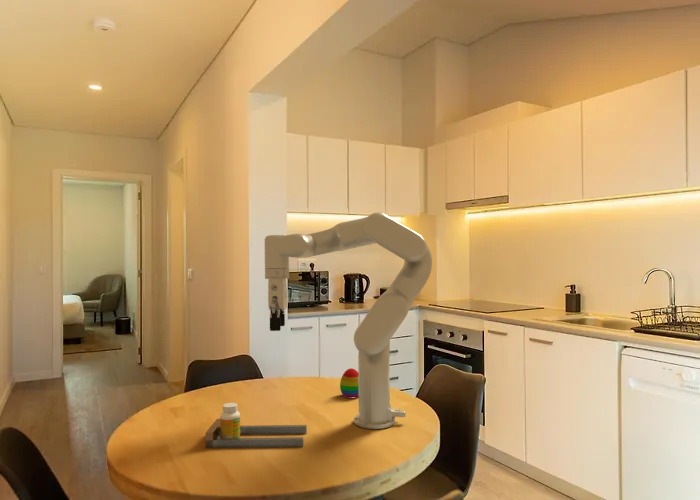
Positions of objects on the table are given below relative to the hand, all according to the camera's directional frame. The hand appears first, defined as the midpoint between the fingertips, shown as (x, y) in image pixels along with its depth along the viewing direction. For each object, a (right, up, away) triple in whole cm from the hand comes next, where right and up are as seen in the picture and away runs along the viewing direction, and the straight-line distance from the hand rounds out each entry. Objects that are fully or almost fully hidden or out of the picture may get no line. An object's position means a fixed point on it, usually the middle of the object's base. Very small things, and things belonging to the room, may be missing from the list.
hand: (277, 328), depth 154 cm
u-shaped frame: (-3, -28, -18) cm, 33 cm away
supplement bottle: (-10, -28, -18) cm, 35 cm away
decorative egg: (+23, -29, +23) cm, 43 cm away
